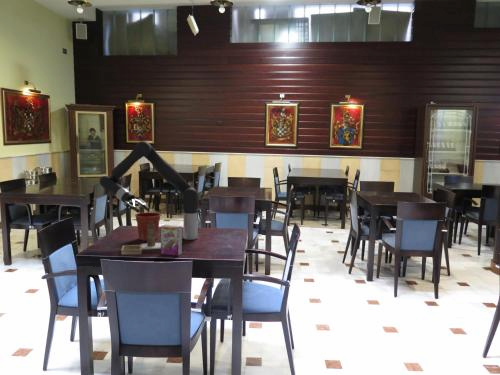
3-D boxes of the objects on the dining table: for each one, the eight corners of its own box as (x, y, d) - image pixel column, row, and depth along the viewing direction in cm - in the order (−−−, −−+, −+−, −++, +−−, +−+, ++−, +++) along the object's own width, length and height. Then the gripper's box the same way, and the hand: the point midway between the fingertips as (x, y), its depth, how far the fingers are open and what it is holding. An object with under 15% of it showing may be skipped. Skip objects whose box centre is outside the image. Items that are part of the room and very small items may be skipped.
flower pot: (131, 237, 276) (130, 213, 274) (154, 234, 287) (154, 211, 285) (141, 243, 264) (141, 217, 262) (165, 239, 274) (165, 215, 272)
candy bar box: (160, 254, 239) (160, 226, 237) (164, 252, 244) (164, 224, 242) (178, 256, 236) (178, 227, 234) (182, 254, 241) (182, 225, 239)
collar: (122, 249, 248) (122, 245, 248) (141, 248, 250) (141, 244, 250) (121, 254, 237) (121, 250, 237) (141, 253, 240) (141, 249, 240)
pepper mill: (147, 244, 258) (147, 220, 256) (155, 244, 259) (154, 220, 257) (147, 246, 253) (147, 222, 252) (155, 246, 254) (155, 221, 253)
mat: (141, 244, 261) (141, 243, 260) (161, 243, 263) (161, 242, 263) (141, 249, 249) (141, 248, 249) (161, 248, 252) (161, 247, 252)
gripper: (119, 192, 255) (138, 206, 250) (135, 190, 268) (153, 203, 263) (115, 202, 258) (133, 217, 252) (131, 199, 270) (149, 213, 265)
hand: (143, 210), depth 258 cm, fingers open, 8 cm apart
